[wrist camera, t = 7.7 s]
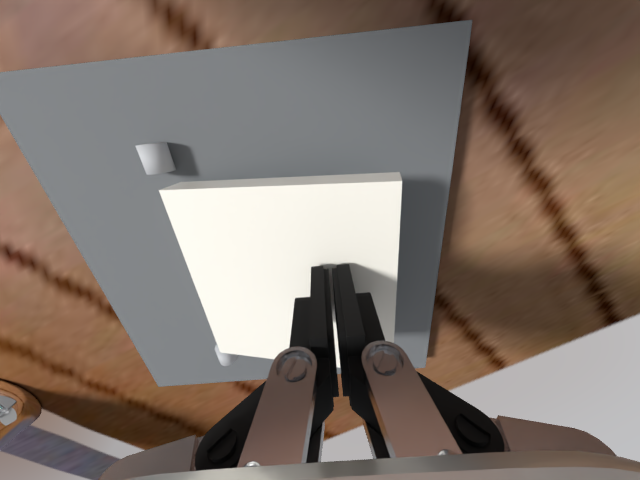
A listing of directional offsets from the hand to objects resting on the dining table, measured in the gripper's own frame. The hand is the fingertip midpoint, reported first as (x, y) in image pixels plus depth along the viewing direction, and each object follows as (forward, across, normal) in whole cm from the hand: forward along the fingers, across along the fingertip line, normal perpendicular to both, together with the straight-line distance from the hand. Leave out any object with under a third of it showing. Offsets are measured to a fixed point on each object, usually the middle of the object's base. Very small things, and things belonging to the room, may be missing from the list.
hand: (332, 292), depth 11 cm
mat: (+5, +4, 0) cm, 6 cm away
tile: (+3, +7, 0) cm, 8 cm away
